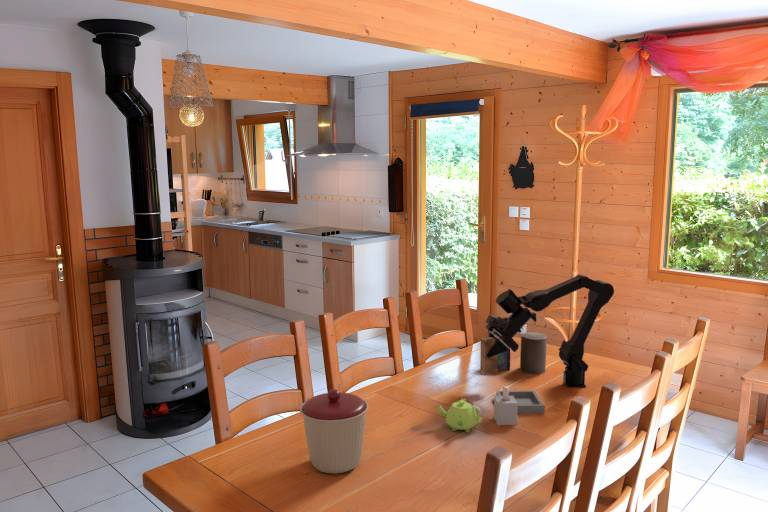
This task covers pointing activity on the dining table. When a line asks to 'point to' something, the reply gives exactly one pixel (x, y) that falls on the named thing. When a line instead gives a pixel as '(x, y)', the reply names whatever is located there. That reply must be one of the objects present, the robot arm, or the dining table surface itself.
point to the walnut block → (487, 364)
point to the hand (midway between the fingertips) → (485, 354)
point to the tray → (526, 401)
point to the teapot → (461, 415)
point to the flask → (503, 360)
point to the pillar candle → (533, 353)
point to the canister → (334, 430)
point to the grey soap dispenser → (505, 408)
